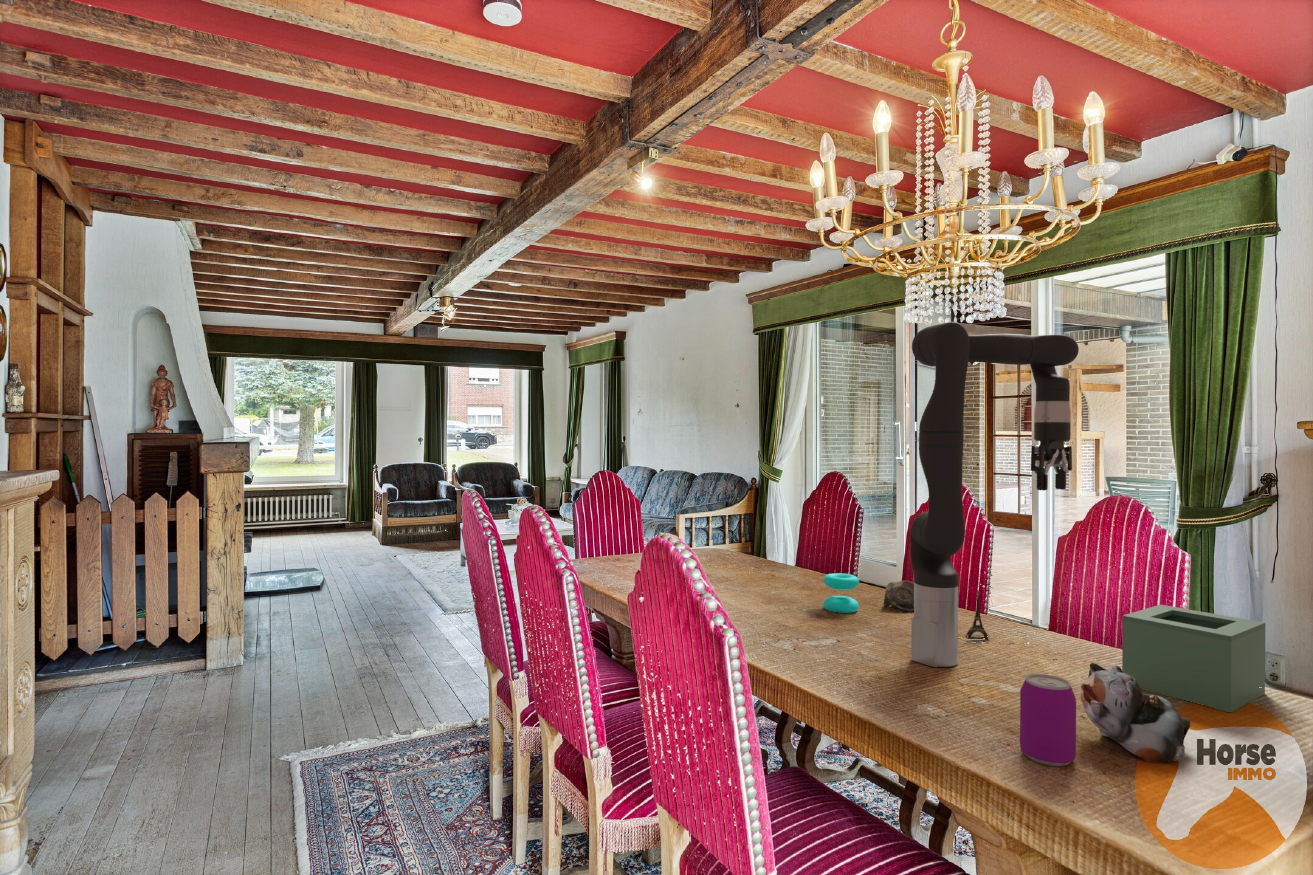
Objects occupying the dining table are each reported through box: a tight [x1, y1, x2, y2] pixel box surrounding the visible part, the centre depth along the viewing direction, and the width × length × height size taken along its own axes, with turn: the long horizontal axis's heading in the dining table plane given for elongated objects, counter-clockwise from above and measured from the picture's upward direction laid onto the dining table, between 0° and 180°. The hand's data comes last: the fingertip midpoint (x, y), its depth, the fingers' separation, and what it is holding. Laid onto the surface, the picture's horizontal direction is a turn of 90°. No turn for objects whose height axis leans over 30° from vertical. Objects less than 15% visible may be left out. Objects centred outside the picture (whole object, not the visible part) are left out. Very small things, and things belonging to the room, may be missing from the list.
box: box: [1121, 604, 1266, 713], centre depth 143 cm, size 18×18×14 cm
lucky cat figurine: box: [1080, 662, 1191, 764], centre depth 116 cm, size 15×12×14 cm
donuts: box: [822, 572, 860, 614], centre depth 206 cm, size 10×10×10 cm
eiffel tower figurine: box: [962, 590, 1014, 645], centre depth 179 cm, size 15×10×13 cm
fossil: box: [882, 580, 914, 613], centre depth 209 cm, size 11×9×10 cm
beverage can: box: [1019, 673, 1077, 767], centre depth 111 cm, size 8×8×12 cm
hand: (1051, 489), depth 168 cm, fingers open, 8 cm apart
